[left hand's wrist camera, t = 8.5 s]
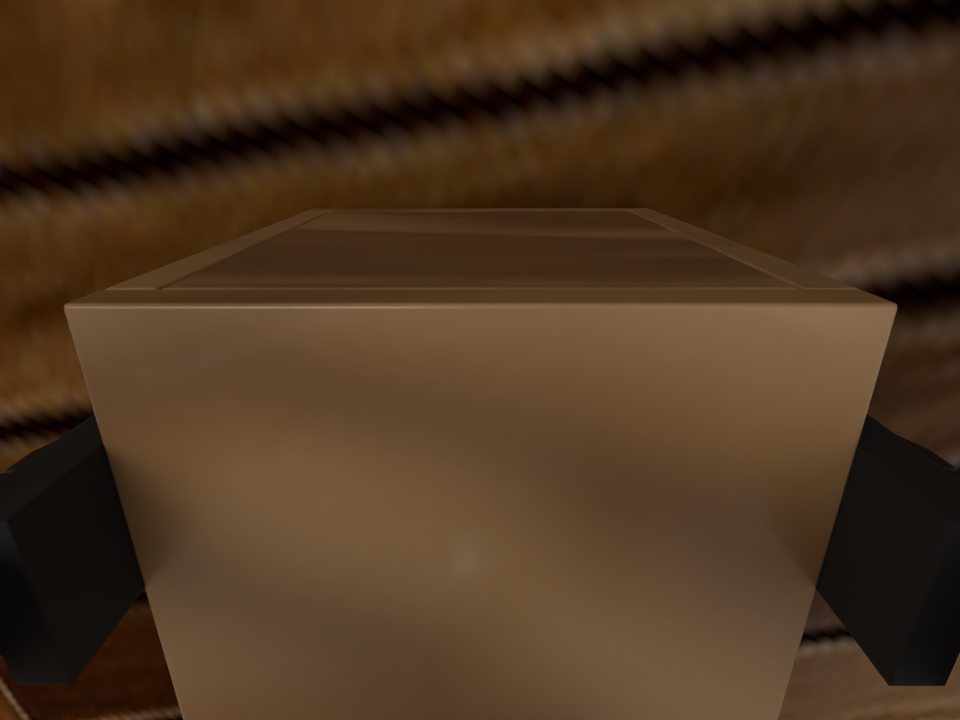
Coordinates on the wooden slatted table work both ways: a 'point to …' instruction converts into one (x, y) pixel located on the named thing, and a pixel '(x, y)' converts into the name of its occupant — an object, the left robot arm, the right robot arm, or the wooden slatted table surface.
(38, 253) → the wooden slatted table surface
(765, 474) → the cabinet
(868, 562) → the left robot arm
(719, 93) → the wooden slatted table surface
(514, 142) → the wooden slatted table surface
